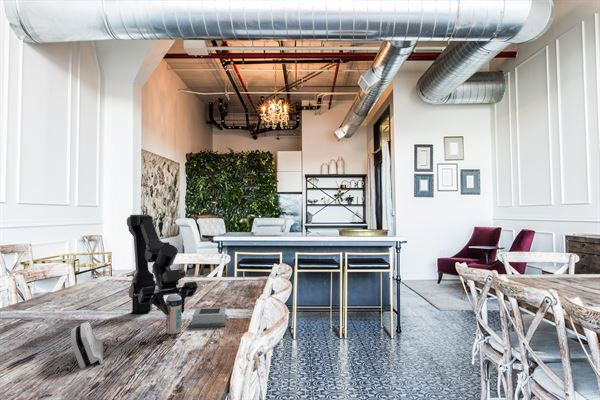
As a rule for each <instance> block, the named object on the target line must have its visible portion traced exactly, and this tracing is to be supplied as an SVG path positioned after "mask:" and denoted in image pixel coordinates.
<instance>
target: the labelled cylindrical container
mask: <svg viewBox="0 0 600 400" xmlns="http://www.w3.org/2000/svg"><path fill="white" fill-rule="evenodd" d="M165 303H166V306H167V309H168V313H169V314H168V316H167V315H165V318H166V319H165V323H166V324H165V332H166V333H167V334H168V335H177V334H180V333H181V332H182V314H183V313H182V298H181V296H180V295H177V294H172V295H167V297H166V300H165Z"/></svg>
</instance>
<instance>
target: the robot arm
mask: <svg viewBox="0 0 600 400" xmlns="http://www.w3.org/2000/svg"><path fill="white" fill-rule="evenodd" d="M126 226H127V228H128V232H129V233H130V234H131V235H132V237H133V247H134V262H135V274H134V276H133V277H132V278H131V280H132V281H131V284H130V287H129V290H128V297H129V299H132V300H131V307H132V308H131V310H132V311H131V312H130V315H136V314H137V315H139V314H141V315H143V314H144V315H145V314H148V313H150V312H151V311H152V310H153V306H155V307H156V308H157V309H159V310H160V311H161V312H162V313H163V314H164V315H165V316H166V315H167V316H168V314H169V313H168V309H167V306H166V300H165V298H164V297H165V296H170V295H180V296H181V298H182V313H181V314H183V313H184V312H185V302H186V301H185V300H186V298H191V297H194V295H195V293H196V292H197V290H198V288H199V286H198V283H197V281H193V280H191V281H186V282H184V283H183V285H182V286H179V284H180V282H179V281H180V280H182V279H184V278H185V277H186V270H185V268H184V267H180V268H178V269H171V268H172V267H171V266H172V265H174V262H175V259H176V257H177V255H178V253H179V252H178V251H179V250H178V248H177V247H176V246H175V245H173V244H171V243H170V242H169V241H168V242H167V241H166V242H165V241H164V242H163V241H162V240H160V237H159V234H158V232H157V230H156V227H155V224H154V217H153V215H150V214H149V215H147V214H130V215H129V217H127V218H126ZM149 263H150V264H151V263H153V264H152V266H151V268H152V271H151V272H152V273H151V272H150V270H149ZM156 286H157V288H156Z"/></svg>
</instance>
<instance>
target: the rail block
mask: <svg viewBox="0 0 600 400" xmlns="http://www.w3.org/2000/svg"><path fill="white" fill-rule="evenodd" d="M227 320H228V314H226V306H221V307H220V306H219V307H217V306H216V307H215V306H214V307H213V306H212V307H196V309H195V310H194V312H193V314H192V321H191V323H190V325H189V329H200V328H201V329H202V328H203V329H204V328H221V327H224V328H225V327H227V323H228V321H227Z"/></svg>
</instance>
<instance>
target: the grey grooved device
mask: <svg viewBox="0 0 600 400" xmlns="http://www.w3.org/2000/svg"><path fill="white" fill-rule="evenodd" d="M70 343H71V344H70V345H71V347H72V351H73V353H74V355H75V358H76V361H77V362H78V366H79V368H80V369H84V368H86V365H88V364H91V365H92V364H94V363H95V362H97V361H98V362H99V364H100V366H101V365H103V363H104V362H103V361H104V342H103V341H102V339H99V338H97V337H96V335H95V333H94V330H93V329H92V326H91V324H90V322H89V321H86V322H82V323H81V324H80V325H76V326H75V327H73V328H72V329H71V331H70Z"/></svg>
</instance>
